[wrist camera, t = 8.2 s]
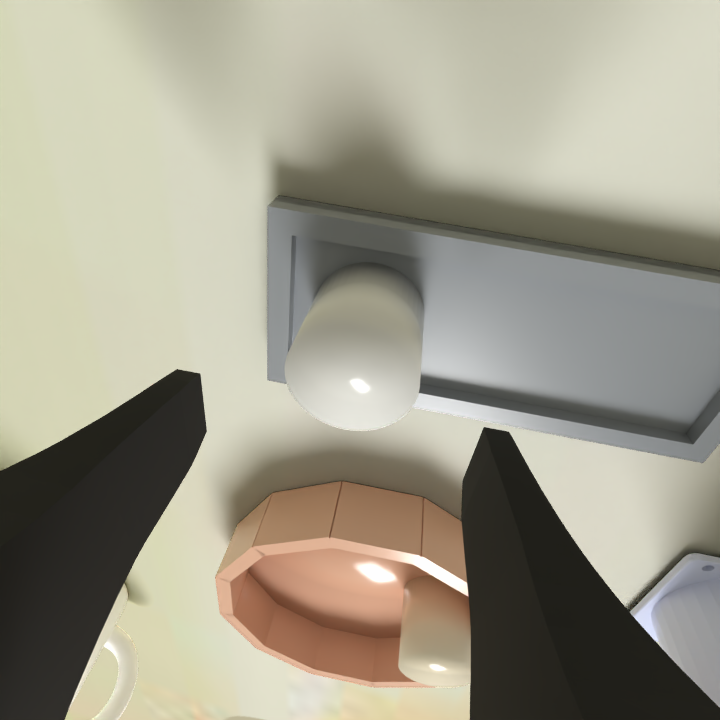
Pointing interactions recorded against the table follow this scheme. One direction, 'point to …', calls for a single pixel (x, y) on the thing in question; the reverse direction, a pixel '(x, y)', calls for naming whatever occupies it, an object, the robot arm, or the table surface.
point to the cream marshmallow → (435, 634)
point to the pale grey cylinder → (359, 349)
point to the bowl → (336, 576)
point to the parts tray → (524, 325)
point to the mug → (126, 658)
